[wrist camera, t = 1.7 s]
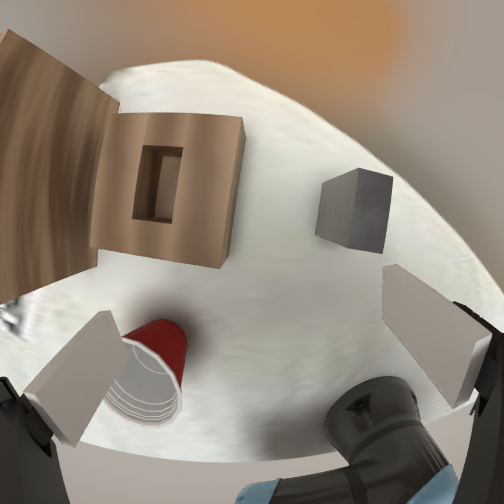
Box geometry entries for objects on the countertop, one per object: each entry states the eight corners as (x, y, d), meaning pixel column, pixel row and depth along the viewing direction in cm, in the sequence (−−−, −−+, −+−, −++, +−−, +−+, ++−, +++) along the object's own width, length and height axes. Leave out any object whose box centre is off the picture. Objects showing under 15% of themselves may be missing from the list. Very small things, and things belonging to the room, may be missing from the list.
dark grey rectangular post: (346, 188, 30) (393, 176, 18) (339, 238, 31) (382, 253, 19) (322, 183, 30) (358, 167, 18) (314, 234, 31) (347, 248, 19)
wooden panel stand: (250, 106, 29) (238, -35, 7) (223, 289, 32) (168, 416, 11) (102, 104, 29) (-10, 40, 7) (80, 262, 32) (-48, 309, 11)
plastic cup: (155, 281, 32) (108, 315, 20) (221, 338, 33) (205, 395, 21) (115, 335, 34) (70, 378, 22) (174, 384, 35) (148, 441, 23)
